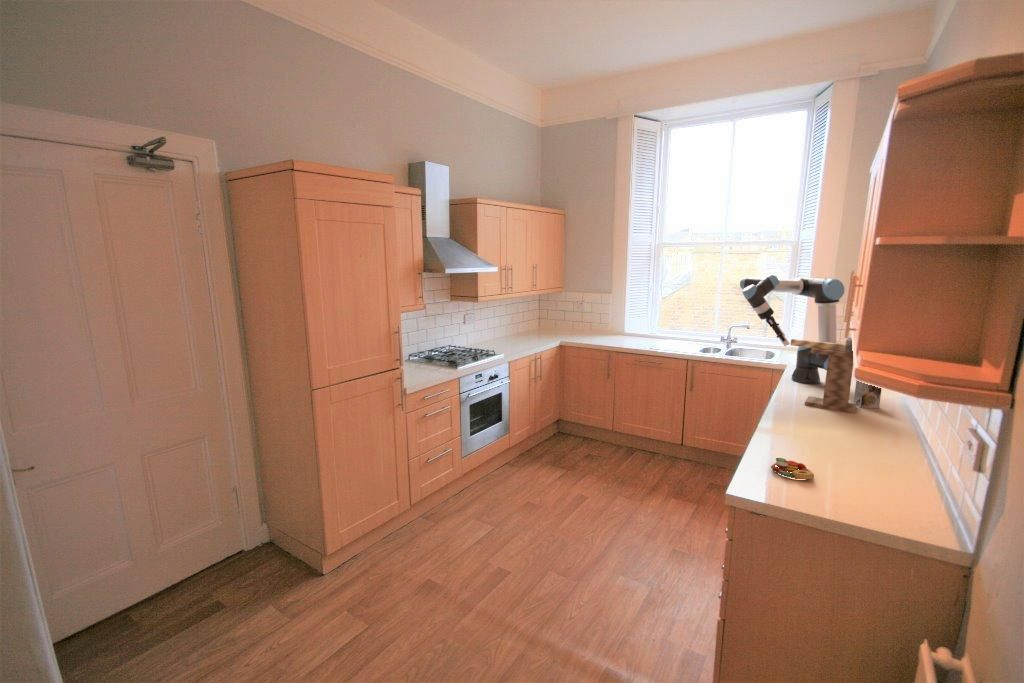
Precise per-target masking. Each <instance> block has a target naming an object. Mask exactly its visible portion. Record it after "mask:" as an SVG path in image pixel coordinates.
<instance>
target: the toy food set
mask: <svg viewBox="0 0 1024 683" xmlns="http://www.w3.org/2000/svg"><path fill="white" fill-rule="evenodd" d="M775 465H777V466H778V467H779V468H778V467H775ZM770 468H771V469H772V468H773V469H772V471H773V470H774V471H776V472H777V473H779V474H781V475H784V476H787V477H791V478H795V479H808V480H811V479H814V478H815V475H814V473H813V471H811V470H810V469H808V468H807V466H806V465H805V464H804V463H802V462H798V461H794V460H787V459H785V458H783V457H776V458H775V463H773V464H772V465H771V466H770ZM798 469H799V470H798ZM774 471H773V472H774ZM787 471H788V472H787ZM790 472H792V473H790ZM777 473H776V474H777Z"/></svg>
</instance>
